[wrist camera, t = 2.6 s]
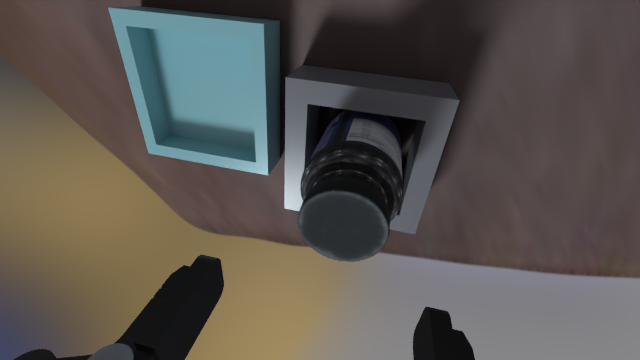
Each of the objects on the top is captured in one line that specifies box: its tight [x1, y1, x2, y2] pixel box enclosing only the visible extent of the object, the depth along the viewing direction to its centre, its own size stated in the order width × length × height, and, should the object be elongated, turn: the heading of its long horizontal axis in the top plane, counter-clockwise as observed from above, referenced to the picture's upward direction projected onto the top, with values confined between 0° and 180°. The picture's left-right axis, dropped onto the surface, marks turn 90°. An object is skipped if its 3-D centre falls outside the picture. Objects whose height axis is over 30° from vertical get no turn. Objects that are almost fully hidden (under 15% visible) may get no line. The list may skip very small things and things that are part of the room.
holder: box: [285, 65, 460, 234], centre depth 22 cm, size 10×10×4 cm
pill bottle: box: [298, 110, 403, 262], centre depth 19 cm, size 6×6×11 cm
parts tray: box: [109, 6, 280, 175], centre depth 23 cm, size 11×11×3 cm
